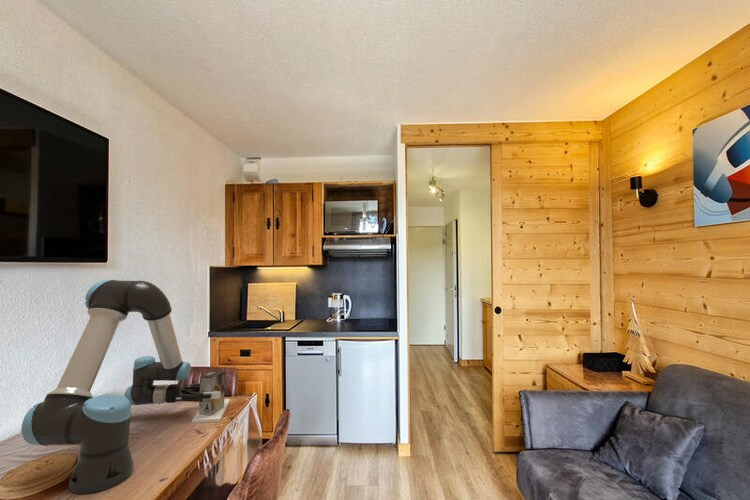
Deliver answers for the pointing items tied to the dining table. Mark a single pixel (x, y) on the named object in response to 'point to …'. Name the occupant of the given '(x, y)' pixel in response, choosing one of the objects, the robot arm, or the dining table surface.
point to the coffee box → (212, 384)
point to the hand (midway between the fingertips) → (222, 390)
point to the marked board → (211, 418)
